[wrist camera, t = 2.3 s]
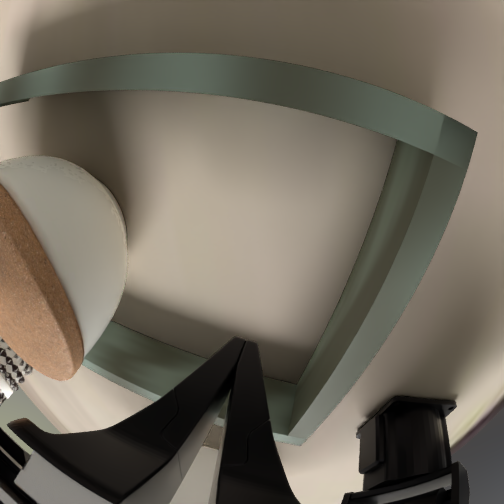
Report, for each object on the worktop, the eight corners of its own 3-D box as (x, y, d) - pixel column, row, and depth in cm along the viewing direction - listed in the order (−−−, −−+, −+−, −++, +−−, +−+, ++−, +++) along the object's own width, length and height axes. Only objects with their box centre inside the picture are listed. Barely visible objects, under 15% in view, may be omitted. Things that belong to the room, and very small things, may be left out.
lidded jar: (34, 134, 13) (-85, 182, 5) (167, 140, 12) (-27, 220, 4) (52, 270, 18) (-27, 342, 10) (164, 317, 17) (84, 437, 9)
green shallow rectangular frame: (431, 118, 9) (497, 129, 4) (307, 398, 18) (297, 460, 14) (19, 81, 11) (-38, 92, 7) (42, 295, 21) (8, 326, 16)
